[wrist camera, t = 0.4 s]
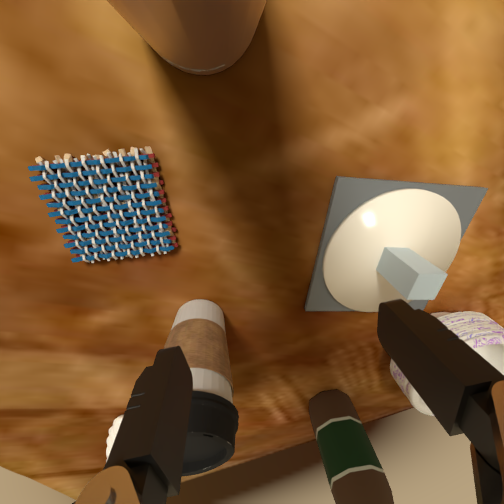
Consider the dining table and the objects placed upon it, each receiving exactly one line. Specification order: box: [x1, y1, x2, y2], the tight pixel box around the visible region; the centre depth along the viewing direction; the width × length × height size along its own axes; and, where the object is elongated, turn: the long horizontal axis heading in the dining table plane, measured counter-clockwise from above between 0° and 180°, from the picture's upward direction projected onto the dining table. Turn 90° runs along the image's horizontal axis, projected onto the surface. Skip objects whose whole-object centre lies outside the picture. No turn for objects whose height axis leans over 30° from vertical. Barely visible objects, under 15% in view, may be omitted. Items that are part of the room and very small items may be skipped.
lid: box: [322, 188, 461, 312], centre depth 26 cm, size 16×16×6 cm
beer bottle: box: [309, 389, 394, 504], centre depth 33 cm, size 8×8×24 cm
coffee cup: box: [164, 299, 239, 476], centre depth 25 cm, size 8×8×15 cm
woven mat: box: [28, 146, 178, 263], centre depth 23 cm, size 10×11×2 cm
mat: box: [304, 176, 488, 311], centre depth 29 cm, size 17×17×1 cm
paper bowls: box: [390, 311, 504, 416], centre depth 34 cm, size 15×15×8 cm
